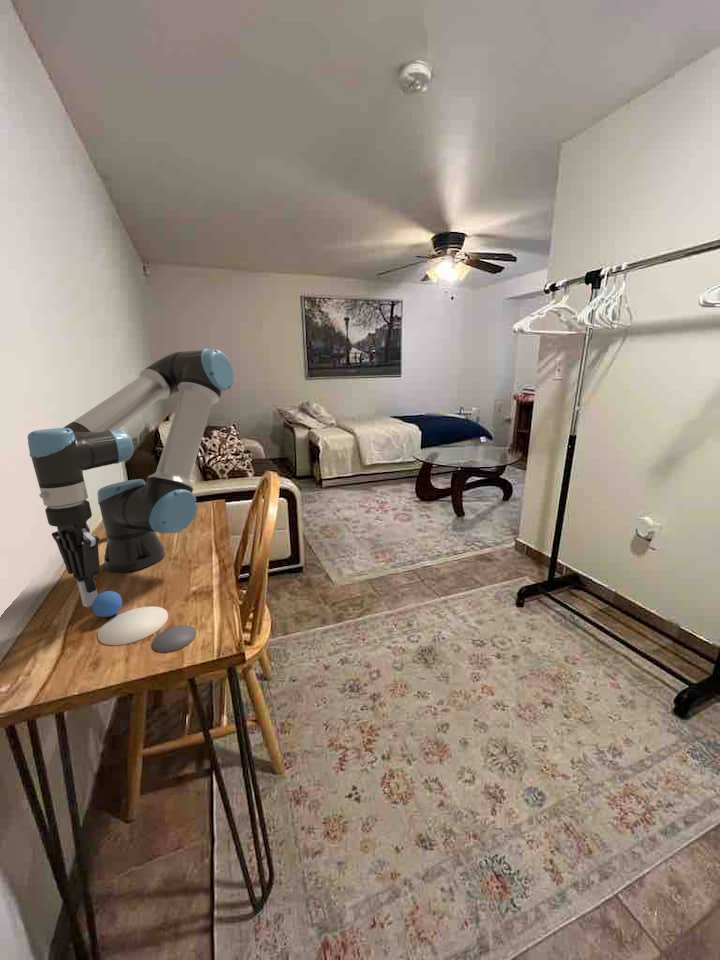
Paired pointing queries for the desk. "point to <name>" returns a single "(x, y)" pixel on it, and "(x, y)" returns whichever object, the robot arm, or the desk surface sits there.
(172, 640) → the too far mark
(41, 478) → the robot arm
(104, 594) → the ball
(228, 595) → the desk surface
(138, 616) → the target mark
